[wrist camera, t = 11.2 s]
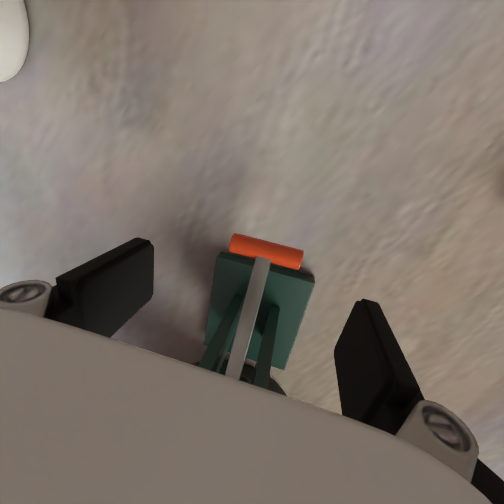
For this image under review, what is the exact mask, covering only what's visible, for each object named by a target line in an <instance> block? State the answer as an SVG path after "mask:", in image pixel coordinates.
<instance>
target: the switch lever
mask: <svg viewBox="0 0 504 504" xmlns="http://www.w3.org/2000/svg"><path fill="white" fill-rule="evenodd" d="M229 250H230V252H233V253H236V254H240V255H244V256H248V257H251V258H255V259H256V260H255V263H254V267H253V271H252V274H251V278H250V282H249V286H248V289H247V293H246V297H245V301H244V304H243V308H242V312H241V316H240V319H239V323H238V327H237V330H236V334H235V338H234V342H233V345H232V349H231V353H230V357H229V360H228V364H227V368H226V371H224V370H220V372H219V374H222V375H225V376H228V377H231V378H234V379H237V380H240V381H243V382H246V383H247V381H248V379H247V378H245V377H242V376H241V374H242V370H243V366H244V363H245V359H246V355H247V351H248V348H249V344H250V340H251V336H252V332H253V329H254V325H255V321H256V317H257V314H258V310H259V306H260V302H261V298H262V295H263V291H264V287H265V283H266V280H267V276H268V272H269V268H270V265H271V263H274V264H278V265H281V266H285V267H289V268H293V269H296V270H299V268H300V266H301V262H302V259H303V253H304V252H303V250H299V249H295V248H291V247H288V246H284V245H280V244H276V243H272V242H268V241H264V240H260V239H256V238H252V237H249V236H245V235H241V234H237V233H234V234H233V236H232V238H231V242H230V247H229Z"/></svg>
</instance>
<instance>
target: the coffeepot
mask: <svg viewBox="0 0 504 504" xmlns="http://www.w3.org/2000/svg"><path fill="white" fill-rule="evenodd" d="M28 47H29V24H28V17H27V12H26V7H25V4H24V0H0V82H5V81H7V80H9V79H11V78H12V77H14V76H15V75H16V74H17V73H18V72H19V71H20V69H21V68H22V66H23V64H24V62H25V59H26V56H27V52H28Z"/></svg>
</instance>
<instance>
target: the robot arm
mask: <svg viewBox="0 0 504 504" xmlns="http://www.w3.org/2000/svg"><path fill="white" fill-rule="evenodd" d="M153 280H154V246H153V245H152V244H151V242H150V241H149V240H146V239H142V238H138V237H137V238H134V239H132V240H130V241H128V242H126V243H124V244H122V245H120V246H118V247H116V248H114V249H112V250H110V251H108V252H106V253H104V254H102V255H100V256H98V257H96V258H94V259H92V260H90V261H88V262H86V263H84V264H82V265H80V266H78V267H76V268H74V269H72V270H70V271H68V272H66V273H64V274H62V275H60V276H58V277H56V283H57V285H56V286H54V287H52V286H51V285H50V284H49V283H48V282H45V281H40V280H28V281H21V282H17V283H13V284H10V285H8V286H5V287H3V288H1V289H0V504H504V481H503V480H502V479H501V478H499V477H498V476H497V475H496V474H495V473H494V472H493V471H492V470H490V469H489V468H488V467H487V466H486V465H485V464H484V463H482V462H481V461H480V460H479V459H478V454H479V446H478V444H477V441H476V439H475V437H474V435H473V434H472V432H471V431H470V429H469V428H468V427H467V426H466V425H465V424H464V423H463V421H462V420H461V419H460V418H458V417H457V416H456V415H455V414H454V413H453V412H451V411H450V410H448V409H447V408H445V407H444V406H442V405H440V404H438V403H436V402H433V401H429V400H425V399H424V397H423V395H422V393H421V391H420V388H419V386H418V384H417V381H416V379H415V377H414V375H413V373H412V371H411V369H410V367H409V365H408V363H407V361H406V359H405V357H404V355H403V353H402V351H401V349H400V346H399V344H398V342H397V340H396V338H395V336H394V334H393V332H392V330H391V328H390V326H389V324H388V322H387V320H386V318H385V316H384V314H383V312H382V309H381V307H380V305H379V304H378V303H377V302H374V301H370V300H366V299H362V300H361V301H357V302H356V303H355V305H354V307H353V309H352V311H351V313H350V316H349V318H348V320H347V322H346V324H345V326H344V329H343V331H342V333H341V335H340V337H339V339H338V342H337V344H336V346H335V349H334V359H335V366H336V373H337V380H338V387H339V394H340V401H341V408H342V415H340V414H337V413H334V412H331V411H328V410H325V409H323V408H320V407H317V406H314V405H311V404H308V403H305V402H302V401H300V400H297V399H294V398H291V397H288V396H285V395H282V394H279V393H276V392H273V391H270V390H267V389H264V388H261V387H258V386H255V385H252V384H249V383H246V382H243V381H240V380H237V379H234V378H231V377H228V376H225V375H222V374H219V373H216V372H213V371H210V370H207V369H204V368H201V367H197V366H194V365H191V364H188V363H185V362H182V361H179V360H176V359H173V358H170V357H167V356H164V355H161V354H158V353H155V352H152V351H149V350H146V349H142V348H139V347H136V346H133V345H130V344H127V343H124V342H121V341H118V340H114V339H111V338H110V337H111V336H112V335H113V334H114V333H115V332H116V331H117V330H118V329H119V328H121V327H122V326H123V325H124V324H125V323H126V322H127V321H128V320H129V319H130V318H131V317H132V316H133V315H134V314H135V313H136V312H137V311H139V310H140V309H141V308H142V307H143V306H144V305H145V304H146V303H147V302H148V301H149V300H150V299H151V297H152V295H153Z"/></svg>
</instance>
